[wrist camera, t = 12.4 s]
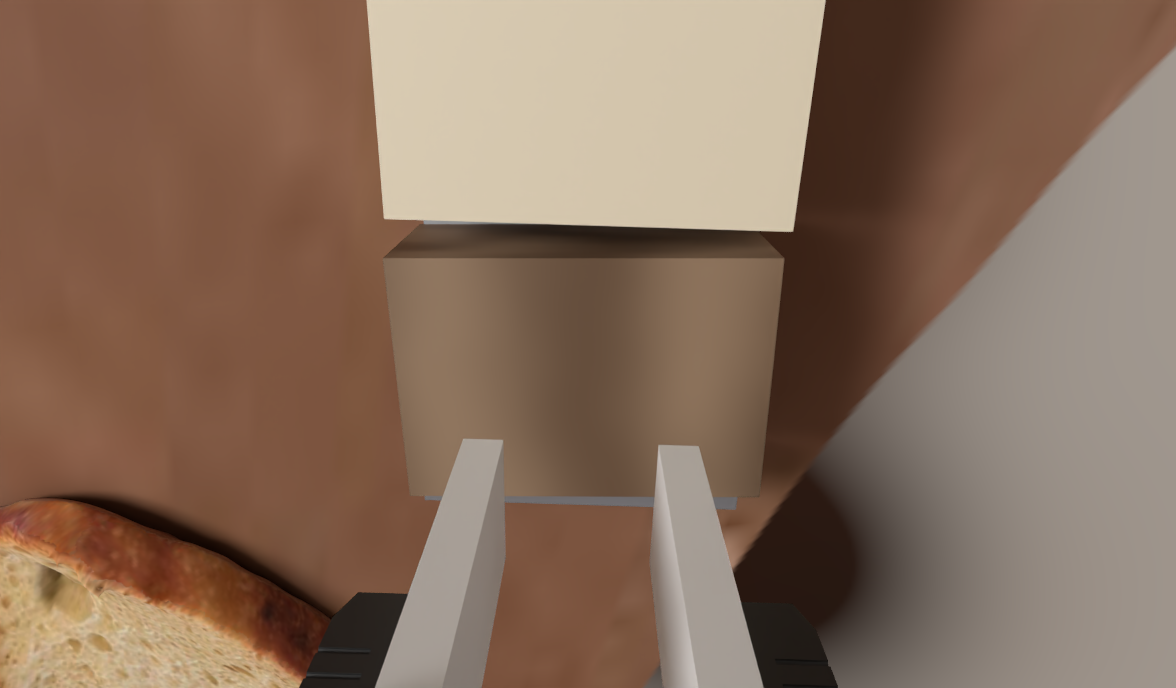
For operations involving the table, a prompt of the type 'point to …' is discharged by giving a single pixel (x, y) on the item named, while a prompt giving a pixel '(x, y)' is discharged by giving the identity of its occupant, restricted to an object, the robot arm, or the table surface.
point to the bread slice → (138, 608)
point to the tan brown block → (584, 352)
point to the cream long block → (594, 116)
